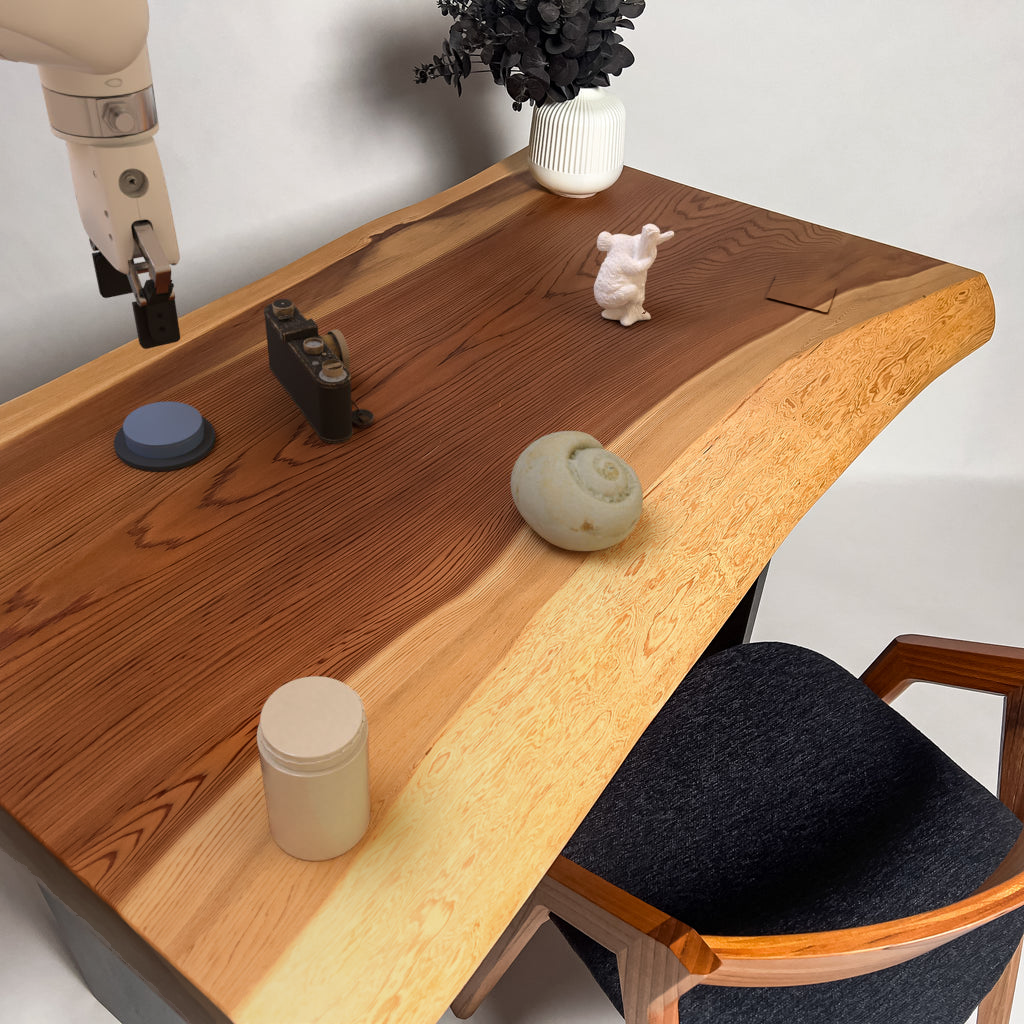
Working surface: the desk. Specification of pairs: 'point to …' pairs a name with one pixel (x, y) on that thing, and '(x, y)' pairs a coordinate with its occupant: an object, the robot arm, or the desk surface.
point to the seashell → (576, 492)
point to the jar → (315, 767)
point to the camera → (313, 371)
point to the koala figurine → (626, 272)
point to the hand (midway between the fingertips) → (139, 317)
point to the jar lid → (163, 430)
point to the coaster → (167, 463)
